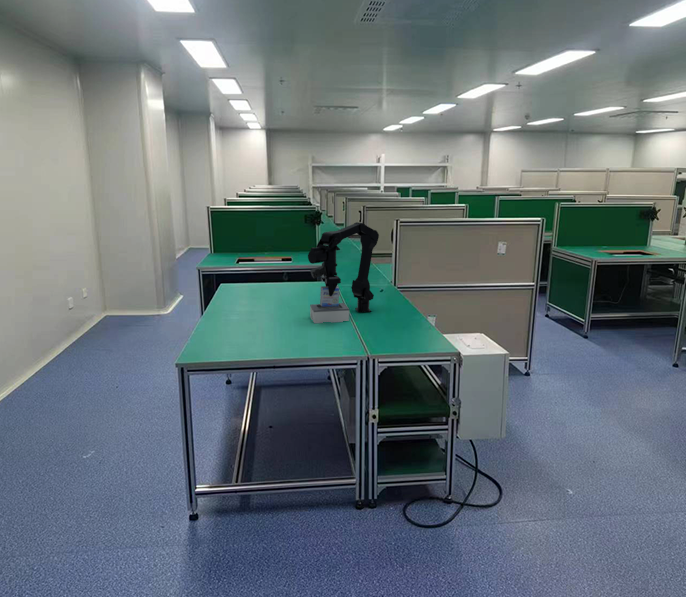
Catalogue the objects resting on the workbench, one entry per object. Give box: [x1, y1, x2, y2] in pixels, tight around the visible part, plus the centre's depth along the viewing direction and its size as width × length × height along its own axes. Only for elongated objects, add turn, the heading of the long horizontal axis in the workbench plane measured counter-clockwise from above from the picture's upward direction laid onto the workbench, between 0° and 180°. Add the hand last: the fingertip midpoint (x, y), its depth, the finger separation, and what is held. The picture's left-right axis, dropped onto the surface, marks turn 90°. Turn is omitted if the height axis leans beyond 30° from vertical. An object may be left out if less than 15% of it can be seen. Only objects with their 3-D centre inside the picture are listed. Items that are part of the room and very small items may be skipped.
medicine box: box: [319, 285, 340, 307], centre depth 217 cm, size 8×4×9 cm, turn 103°
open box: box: [309, 302, 350, 324], centre depth 219 cm, size 10×16×6 cm, turn 103°
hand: (329, 294), depth 217 cm, fingers closed on medicine box, 4 cm apart
